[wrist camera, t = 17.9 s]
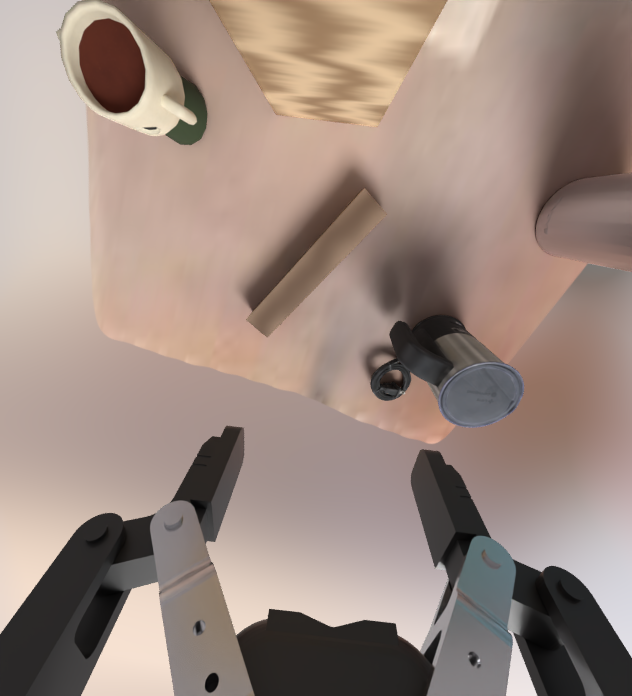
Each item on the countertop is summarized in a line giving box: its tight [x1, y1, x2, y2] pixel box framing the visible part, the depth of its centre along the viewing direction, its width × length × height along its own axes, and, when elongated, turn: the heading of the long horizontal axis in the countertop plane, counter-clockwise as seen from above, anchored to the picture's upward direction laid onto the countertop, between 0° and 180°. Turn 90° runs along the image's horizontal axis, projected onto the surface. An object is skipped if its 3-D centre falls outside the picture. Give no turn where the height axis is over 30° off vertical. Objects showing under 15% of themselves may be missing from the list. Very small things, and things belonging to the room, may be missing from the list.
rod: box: [246, 188, 387, 337], centre depth 39 cm, size 4×23×4 cm, turn 136°
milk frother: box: [370, 315, 524, 428], centre depth 40 cm, size 14×16×15 cm
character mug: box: [56, 0, 207, 145], centre depth 28 cm, size 11×7×13 cm, turn 61°
